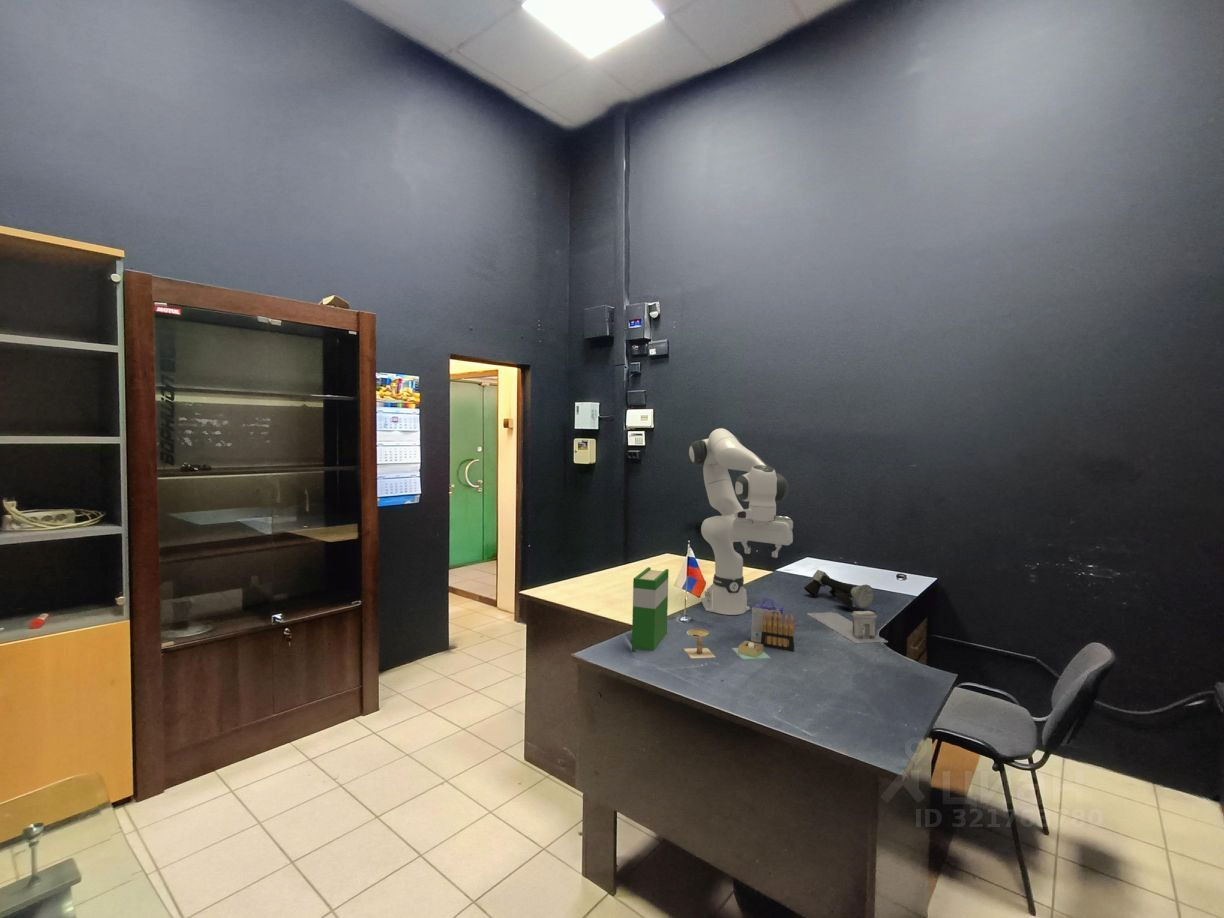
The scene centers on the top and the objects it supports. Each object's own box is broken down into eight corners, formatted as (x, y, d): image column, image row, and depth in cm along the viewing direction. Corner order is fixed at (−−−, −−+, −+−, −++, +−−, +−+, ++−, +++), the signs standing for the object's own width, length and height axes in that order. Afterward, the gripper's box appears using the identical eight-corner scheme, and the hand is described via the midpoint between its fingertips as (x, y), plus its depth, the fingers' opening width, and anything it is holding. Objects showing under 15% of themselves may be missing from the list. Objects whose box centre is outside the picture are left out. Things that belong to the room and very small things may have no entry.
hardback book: (646, 634, 197) (648, 567, 196) (666, 637, 194) (668, 569, 193) (631, 652, 180) (633, 578, 179) (653, 655, 178) (655, 580, 177)
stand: (683, 653, 180) (684, 633, 180) (707, 652, 181) (707, 632, 181) (691, 663, 172) (691, 642, 172) (715, 661, 173) (716, 641, 173)
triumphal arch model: (855, 644, 192) (856, 617, 192) (806, 615, 225) (807, 591, 224) (888, 643, 194) (889, 616, 194) (835, 614, 227) (835, 590, 226)
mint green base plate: (731, 654, 180) (732, 638, 180) (757, 653, 181) (758, 637, 181) (742, 665, 171) (743, 649, 171) (770, 663, 173) (770, 648, 172)
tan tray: (745, 647, 180) (745, 640, 180) (763, 652, 177) (763, 644, 177) (738, 653, 176) (738, 645, 175) (756, 657, 172) (756, 650, 172)
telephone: (868, 626, 228) (819, 603, 257) (885, 602, 230) (835, 582, 259) (846, 604, 224) (799, 583, 252) (864, 580, 226) (815, 562, 255)
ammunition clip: (760, 646, 188) (761, 611, 187) (761, 644, 189) (762, 609, 189) (793, 651, 183) (794, 615, 183) (794, 650, 185) (795, 614, 185)
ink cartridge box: (782, 641, 192) (784, 600, 192) (780, 647, 187) (781, 604, 187) (753, 636, 197) (755, 596, 196) (750, 641, 192) (751, 600, 191)
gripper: (796, 516, 182) (794, 558, 183) (737, 510, 194) (736, 549, 195) (790, 518, 177) (788, 561, 178) (730, 512, 189) (728, 552, 190)
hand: (760, 555), depth 186 cm, fingers open, 8 cm apart
